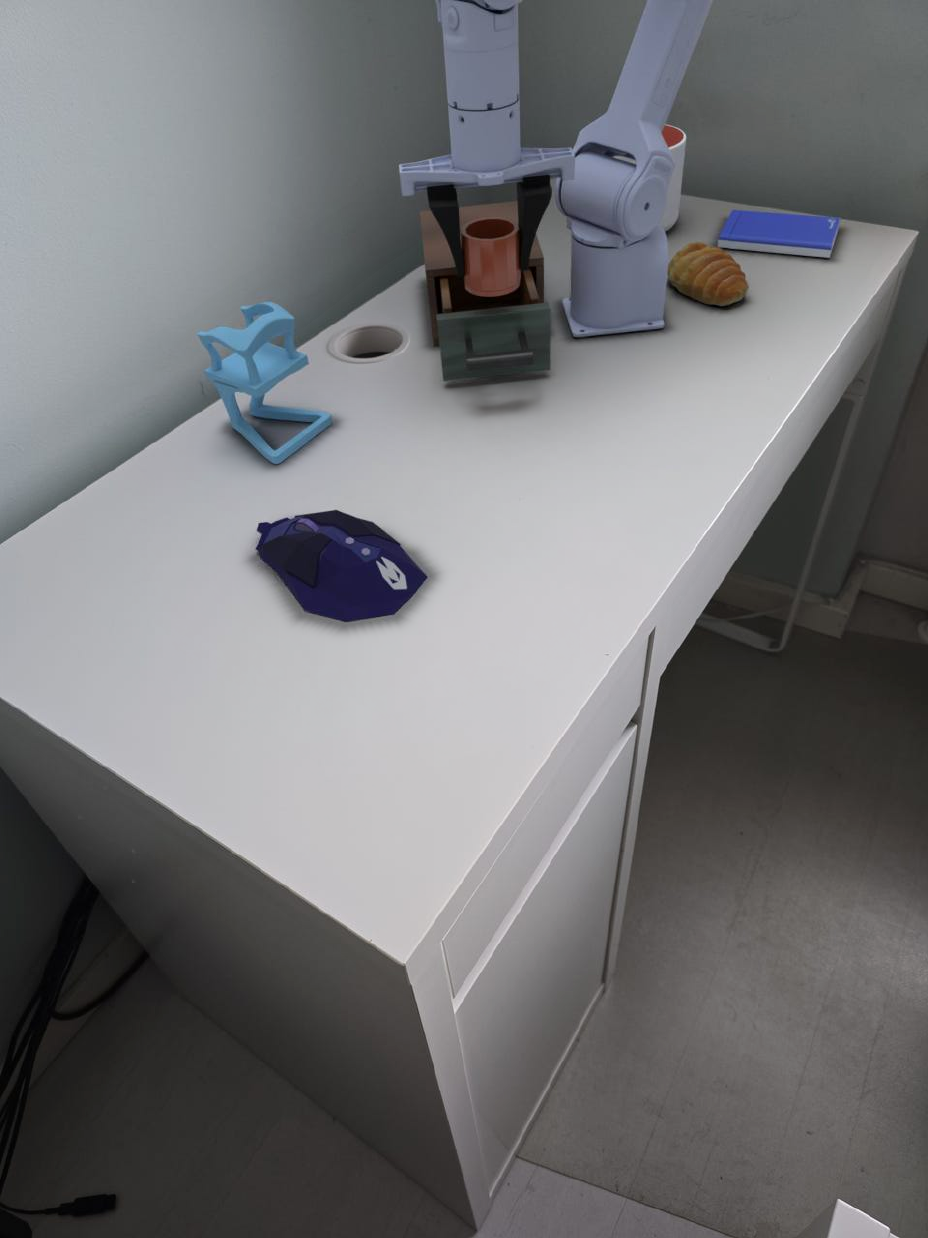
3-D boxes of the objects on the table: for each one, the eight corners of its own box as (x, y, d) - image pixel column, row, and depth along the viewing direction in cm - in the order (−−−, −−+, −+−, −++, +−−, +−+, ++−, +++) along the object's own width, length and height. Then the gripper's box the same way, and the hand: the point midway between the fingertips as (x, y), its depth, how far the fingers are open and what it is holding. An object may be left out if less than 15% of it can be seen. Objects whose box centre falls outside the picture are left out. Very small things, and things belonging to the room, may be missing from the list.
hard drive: (841, 215, 101) (733, 207, 105) (832, 245, 96) (718, 235, 100) (838, 229, 102) (731, 220, 106) (829, 259, 97) (717, 248, 101)
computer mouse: (372, 640, 62) (363, 600, 59) (220, 574, 68) (205, 535, 65) (442, 562, 67) (437, 522, 65) (295, 507, 74) (285, 468, 71)
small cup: (516, 268, 82) (515, 213, 78) (523, 293, 78) (522, 237, 74) (462, 274, 81) (458, 219, 78) (467, 299, 78) (463, 243, 74)
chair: (270, 399, 86) (239, 281, 77) (334, 422, 82) (308, 301, 73) (213, 439, 82) (173, 318, 73) (277, 465, 78) (243, 342, 69)
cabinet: (544, 334, 91) (543, 257, 85) (433, 345, 91) (425, 269, 85) (527, 272, 101) (525, 199, 95) (427, 283, 101) (419, 211, 95)
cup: (674, 207, 110) (683, 120, 103) (680, 241, 103) (689, 150, 96) (594, 210, 111) (597, 124, 104) (595, 243, 105) (598, 154, 97)
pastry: (763, 299, 92) (769, 263, 89) (710, 317, 91) (714, 281, 88) (708, 266, 98) (712, 232, 96) (658, 282, 97) (660, 248, 94)
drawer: (558, 397, 81) (558, 334, 76) (446, 409, 81) (439, 346, 76) (532, 304, 93) (531, 245, 89) (436, 314, 93) (430, 256, 89)
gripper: (393, 124, 66) (413, 296, 76) (583, 106, 66) (578, 280, 76) (391, 97, 71) (409, 262, 81) (568, 80, 71) (565, 246, 81)
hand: (491, 268), depth 79 cm, fingers closed on small cup, 5 cm apart
